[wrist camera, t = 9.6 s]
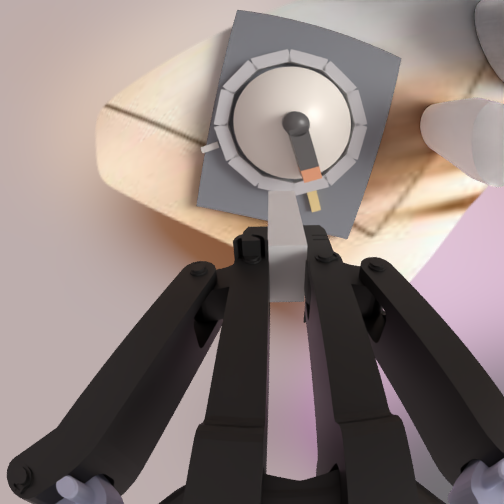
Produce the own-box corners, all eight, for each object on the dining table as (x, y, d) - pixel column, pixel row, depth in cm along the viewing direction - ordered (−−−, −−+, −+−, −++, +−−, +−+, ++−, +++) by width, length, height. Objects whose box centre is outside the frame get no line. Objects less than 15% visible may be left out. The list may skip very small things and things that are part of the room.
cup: (422, 82, 25) (483, 81, 15) (470, 115, 26) (530, 130, 15) (402, 143, 29) (458, 165, 19) (451, 171, 30) (507, 202, 20)
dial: (220, 88, 26) (211, 84, 22) (327, 58, 24) (338, 50, 20) (255, 187, 32) (254, 201, 27) (356, 159, 29) (371, 169, 25)
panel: (233, 13, 23) (230, 5, 20) (396, 59, 24) (406, 56, 22) (195, 201, 34) (189, 209, 32) (344, 234, 36) (350, 244, 33)
